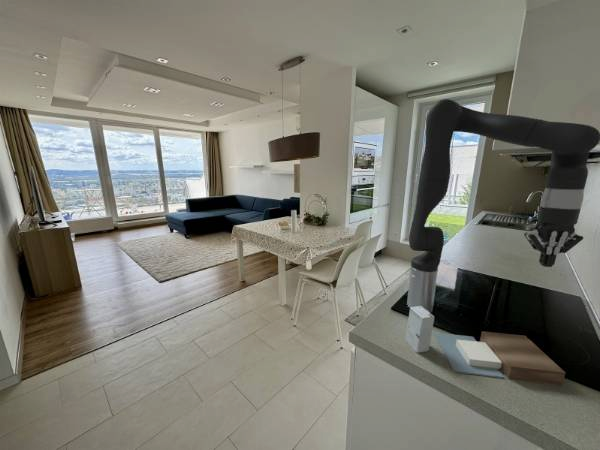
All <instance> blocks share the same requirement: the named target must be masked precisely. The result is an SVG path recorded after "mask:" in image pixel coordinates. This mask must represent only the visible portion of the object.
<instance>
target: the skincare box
mask: <svg viewBox="0 0 600 450" xmlns="http://www.w3.org/2000/svg"><path fill="white" fill-rule="evenodd" d="M408 313H409V314H408V320H407V327H406V334H405V341H406V342H407V344H408V345H409V346H410V347H411V348H412V349H413V351H414V352H416V353H424V352H429V350H430V344H431V340H432V339H431V338H432V332H433V329H434V322H435V316H434V315H433V314H432V313H429V312H428V311H427V310H426V309H424V308H423V307H422V306H416V307H410V309H409V312H408Z"/></svg>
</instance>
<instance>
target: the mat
mask: <svg viewBox="0 0 600 450" xmlns="http://www.w3.org/2000/svg"><path fill="white" fill-rule="evenodd" d="M433 336H434V337H435V339H436V341H437V343H438V345H439V346H440V348H441V350H442V351H443V354H444V355H445V357H446V359H447V361H448V363H449V366H450V367H451V369H452V370H453V372H454V373H458V374H459V373H460V374H468V375H474V376H475V375H476V376H483V377H488V378H489V377H490V378H499V379H505V376H504V375H503V373H502V372H501V371H500V370H499V369H498V368H490V367H481V366H472V365H468V363H467V362H466V360H465V359H464V357H463V355H462V354H461V352H460V351H459V349H458V348H457V346H456V340H466V341H476V342H478V341H477V340H476V339H475V337H474V336H471V335H470V336H469V335H461V334H453V333H452V334H451V333H442V332H433Z"/></svg>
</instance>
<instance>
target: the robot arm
mask: <svg viewBox="0 0 600 450" xmlns="http://www.w3.org/2000/svg"><path fill="white" fill-rule="evenodd" d="M425 120H426V121H425V141H424V151H423V155H422V161H421V166H420V172H419V178H418V184H417V194H416V200H415V208H414V213H413V217H412V221H411V225H410V230H409V237H408V244H409V248H410V249H411V250H412V251H415V252H423V253H421V254H419V255H417V256H414V257H412V259H411V263H410V273H409V283H408V290H407V291H408V292H407V302H406V305H408V306H407V308H408V307H409V308H410V307H416V306H422V307H423V308H424V309H426V310H427V311H428V312H429V313H430V314H432V313H433V307H434V303H435V301H434V300H435V294H436V287H437V279H438V278H437V277H438V270H439V269H438V268H439V266H440V264H441V258H442V253H443V249H444V243H445V242H444V241H445V235H444V231H443V229H441V228H440V227H439V226H425V225H426V223H427V220H428V218H429V216H430V214H431V213H432V212H433V210H434V209H435V208H436V207H437V206H438V205H439V204H440V203H441V202H442V201H443V200H444V198H445V197H446V194H447V192H448V189H449V184H450V178H451V144H452V141H453V140H452V139H453V136H454V133H455V132H457V133H467V134H473V135H478V136H482V137H486V138H488V139H492V140H495V141H500V142H503V143H508V144H512V145H517V146H521V147H527V148H540V149H543V150H549V151H551V159H550V168H549V172H548V175H547V180H546V184H545V188H544V191H543V194H542V196H541V200H540V205H539V208H538V214H537V218H536V219H537V224H536V225H535V227H534V229H533V230H532V231H530V232H527V231H526V232H524V237H525V239H526V241H528V243H529V245H530V246H531V247H532V249H533V250H534V251H538V252H540V255H539V261H538V263H539V264H540V265H541V266H542V267H545V268H552V267H553V266H554V265H555V263H556V258H557V256H558V255H560V254H565V253H567V252H569V251H570V250H571V249H572V248H574V247H575V246H576V245H578V244H579V243H580V242H582V241H583V239H584V236H582V235H579V234H577V232H576V228H575V225H577V224H578V221H579V217H580V213H581V209H582V205H583V201H584V196H585V193H584V192H585V187H586V183H587V180H588V175H589V169H588V168H587V164H588V163H587V162H588V159H589V157H590V156H589V155H590V152H591V151H592V150H594V149H595V148H596V147H597V146H598V144H599V143H600V131H599V130H598V128H597V127H594V126H591V125H588V124H582V123H573V122H565V121H564V122H561V121H560V122H559V121H549V120H543V119H538V118H534V117H528V116H521V115H512V114H501V113H491V112H490V113H489V112H485V111H484V112H483V111H478V110H474V109H471V108H469V107H467V106H463V105H460V104H459V102H457V101H455V100H452V99H448V98H445V99H440V100H438V101H436V102H434V104H433V105H431V107H430V108H429V110H428V111H427V115H426V117H425ZM409 308H408V309H409Z"/></svg>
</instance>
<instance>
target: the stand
mask: <svg viewBox="0 0 600 450" xmlns="http://www.w3.org/2000/svg"><path fill="white" fill-rule="evenodd" d="M479 342H485V343H486V344H487V345H488V346H489V348H490V349H491V350H492V351H493V352H494V354H495V355H496V356H497V357H498V358H499V359H500V361H501V362H502V366H501V369H500V370H501V371H502V372H503V373H502V374H504V375H505V376H506V378H507V379H508V380H514V381H523V382H529V383H536V384H545V385H553V386H560V387H562V386H563V383H564V380H565V376H566V371H564V370H563V369H562V367H560V366H559V365H558V364H557V363H555V361H553V359H551V358H550V357H549V356H548V355H547V354H546V353H545V352H544V351H542V349H541V348H539V346H537V344H535V343H534V342H533V341H532V340H531V339H529V338H528V337H527V336H526V335H521V334H512V333H511V334H510V333H503V332H492V331H491V332H490V331H481V334H480V339H479Z"/></svg>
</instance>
